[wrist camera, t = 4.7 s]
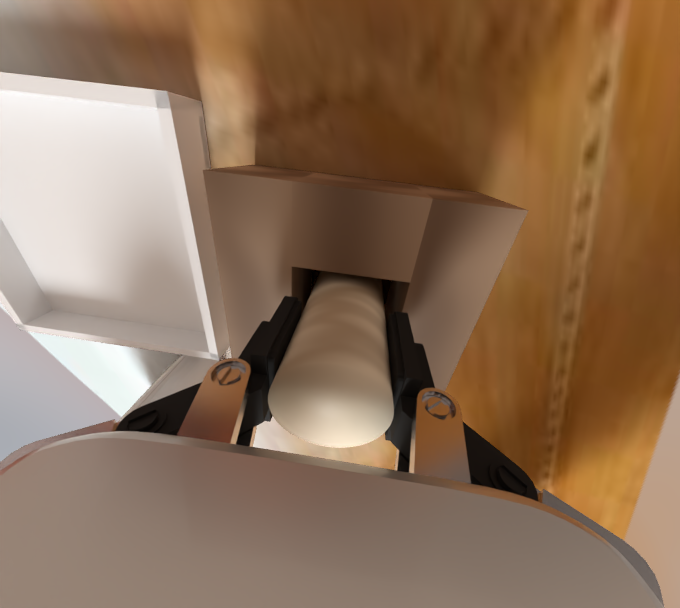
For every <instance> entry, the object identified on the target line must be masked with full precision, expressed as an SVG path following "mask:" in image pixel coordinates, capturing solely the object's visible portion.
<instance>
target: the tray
mask: <svg viewBox="0 0 680 608" xmlns="http://www.w3.org/2000/svg"><path fill="white" fill-rule="evenodd" d="M207 169H211V165H210V158H209V150H208V143H207V136H206V129H205V122H204V115H203V108H202V102H201V101H198V100H195V99H192V98H188V97H185V96H182V95H179V94H175V93H172V92H169V91H163V90H154V89H145V88H136V87H128V86H119V85H110V84H101V83H93V82H84V81H75V80H66V79H58V78H49V77H40V76H31V75H23V74H14V73H5V72H0V301H1V303H2V304H3V306H4V307H5V309H6V310H7V312H8V313H9V315H10V316H11V318H12V319H13V321H14V322H15V323H16V325H17V326H18V328H19V329H20V330H22V331H29V332H35V333H42V334H49V335H55V336H62V337H68V338H75V339H82V340H88V341H95V342H101V343H108V344H115V345H121V346H128V347H134V348H141V349H147V350H154V351H161V352H167V353H174V354H180V355H187V356H194V357H200V358H207V359H213V360H220V358H221V357H222V355H223V354H224V353H225V351H226V350H227V349H228V347H229V346H230V343H229V336H228V330H227V323H226V317H225V310H224V304H223V298H222V291H221V285H220V278H219V272H218V265H217V259H216V253H215V246H214V240H213V233H212V227H211V220H210V214H209V207H208V201H207V195H206V188H205V182H204V175H203V170H207Z"/></svg>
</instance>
